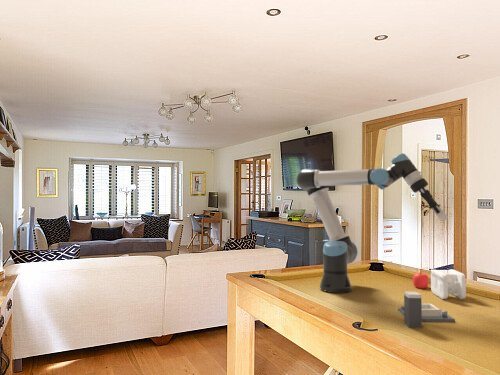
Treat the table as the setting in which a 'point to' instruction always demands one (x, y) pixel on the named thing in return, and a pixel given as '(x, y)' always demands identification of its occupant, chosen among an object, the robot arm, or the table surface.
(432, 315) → the board
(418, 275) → the apple
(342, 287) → the robot arm
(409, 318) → the tall square peg
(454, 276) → the white notched block
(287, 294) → the table surface
